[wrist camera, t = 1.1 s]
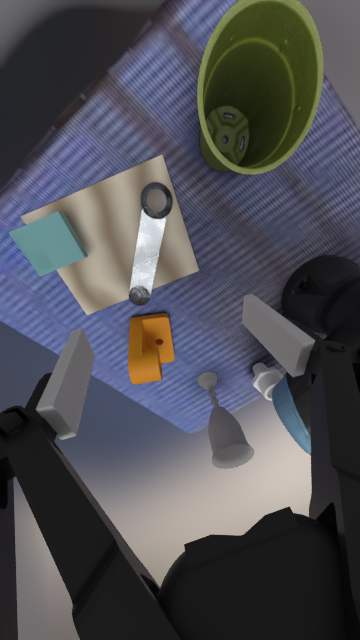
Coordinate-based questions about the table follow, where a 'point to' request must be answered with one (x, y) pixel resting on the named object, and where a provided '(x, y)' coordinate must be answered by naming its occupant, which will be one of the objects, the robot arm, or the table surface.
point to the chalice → (224, 431)
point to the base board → (119, 235)
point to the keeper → (49, 243)
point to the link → (148, 245)
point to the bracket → (149, 347)
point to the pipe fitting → (265, 379)
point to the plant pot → (259, 85)
